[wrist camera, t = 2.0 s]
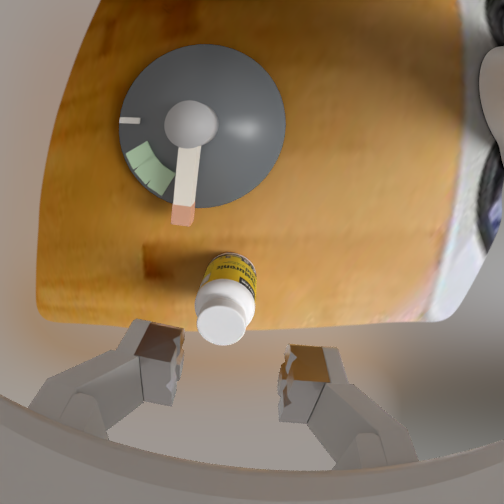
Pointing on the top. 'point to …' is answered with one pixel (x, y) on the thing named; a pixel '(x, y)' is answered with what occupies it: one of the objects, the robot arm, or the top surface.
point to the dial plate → (229, 116)
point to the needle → (188, 152)
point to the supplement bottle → (226, 299)
